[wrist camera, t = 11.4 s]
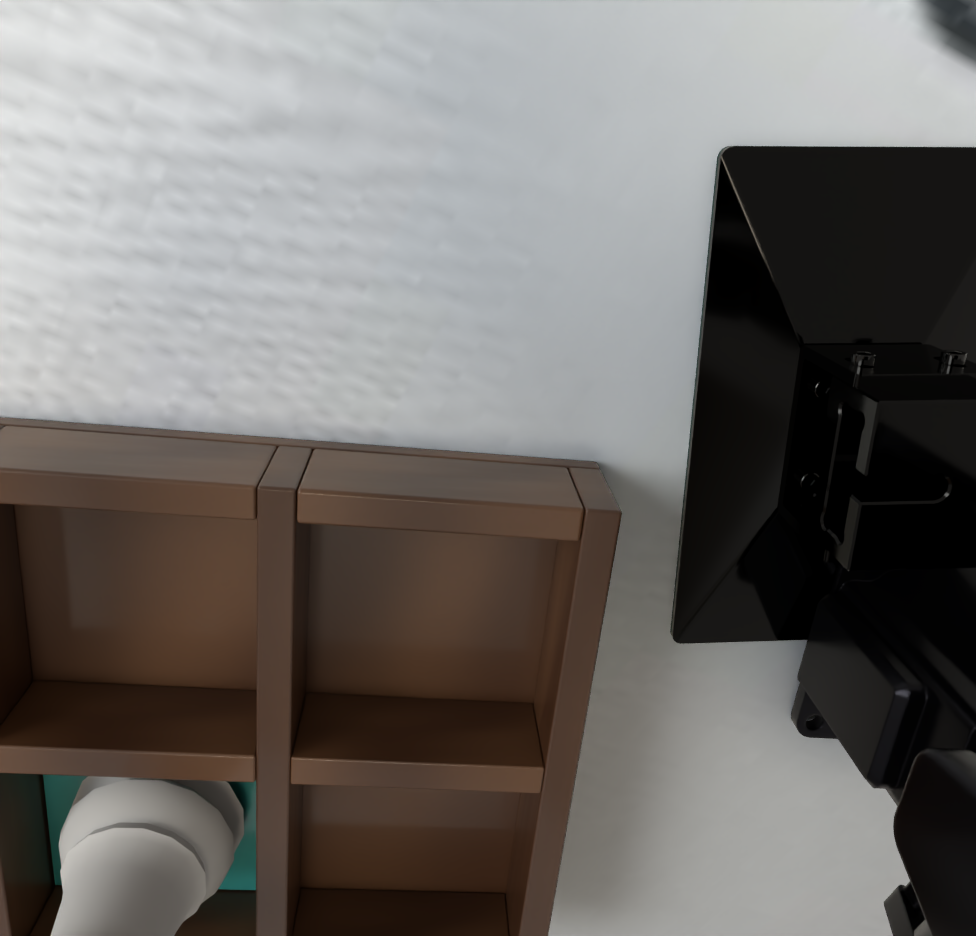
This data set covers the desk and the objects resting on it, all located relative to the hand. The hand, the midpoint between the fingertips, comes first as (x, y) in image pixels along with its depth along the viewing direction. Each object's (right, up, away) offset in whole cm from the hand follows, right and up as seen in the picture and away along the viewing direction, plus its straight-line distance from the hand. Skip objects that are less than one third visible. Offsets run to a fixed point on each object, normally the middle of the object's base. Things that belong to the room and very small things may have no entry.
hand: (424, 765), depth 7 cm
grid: (-5, -3, +15) cm, 16 cm away
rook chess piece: (-8, -7, +15) cm, 19 cm away
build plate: (+9, +4, +13) cm, 17 cm away
